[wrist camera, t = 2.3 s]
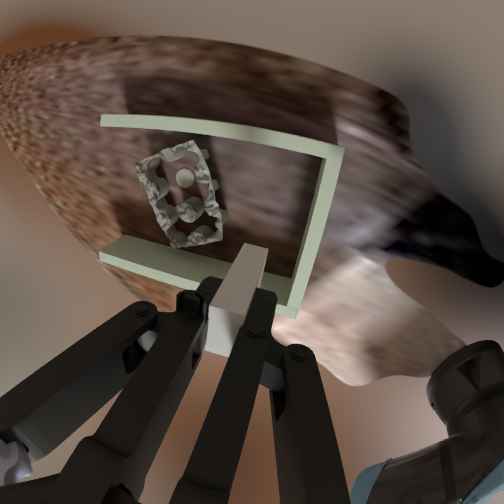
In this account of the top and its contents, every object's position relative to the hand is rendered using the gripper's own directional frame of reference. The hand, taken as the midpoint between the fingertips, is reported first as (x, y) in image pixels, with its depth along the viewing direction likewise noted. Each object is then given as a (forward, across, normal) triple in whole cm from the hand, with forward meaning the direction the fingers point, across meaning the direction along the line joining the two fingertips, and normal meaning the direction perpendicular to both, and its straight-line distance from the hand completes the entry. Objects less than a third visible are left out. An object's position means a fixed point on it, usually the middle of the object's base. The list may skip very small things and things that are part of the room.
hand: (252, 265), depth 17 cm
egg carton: (+13, +9, 0) cm, 16 cm away
